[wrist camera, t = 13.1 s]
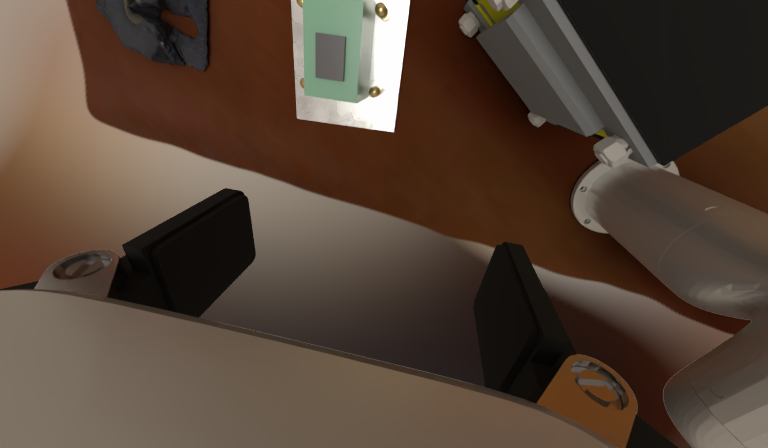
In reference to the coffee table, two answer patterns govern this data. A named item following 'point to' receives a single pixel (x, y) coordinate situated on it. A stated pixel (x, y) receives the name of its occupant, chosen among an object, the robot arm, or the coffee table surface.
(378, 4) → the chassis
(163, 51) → the dark slate chunk
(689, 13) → the electrical component
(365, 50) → the green block
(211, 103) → the coffee table surface
